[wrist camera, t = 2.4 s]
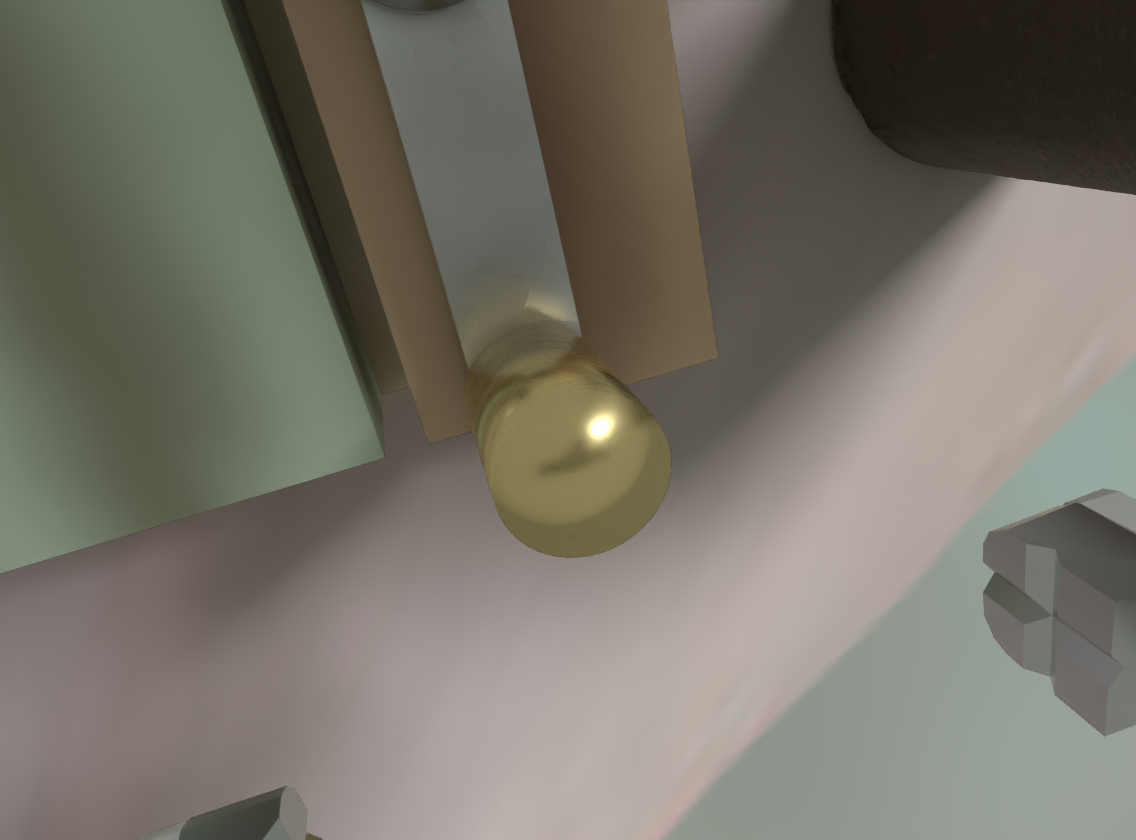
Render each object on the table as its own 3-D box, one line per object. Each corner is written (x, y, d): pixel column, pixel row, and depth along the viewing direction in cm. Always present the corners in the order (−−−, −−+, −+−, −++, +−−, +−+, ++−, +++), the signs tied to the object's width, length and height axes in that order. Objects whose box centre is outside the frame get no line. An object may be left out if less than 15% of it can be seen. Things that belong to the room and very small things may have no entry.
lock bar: (260, -206, 13) (203, -365, 8) (478, -248, 13) (538, -421, 9) (465, 460, 18) (500, 585, 13) (617, 414, 18) (700, 520, 14)
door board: (514, -413, 17) (598, -690, 11) (644, 300, 24) (740, 373, 18) (-365, -267, 15) (-863, -509, 9) (53, 470, 22) (-66, 619, 16)
